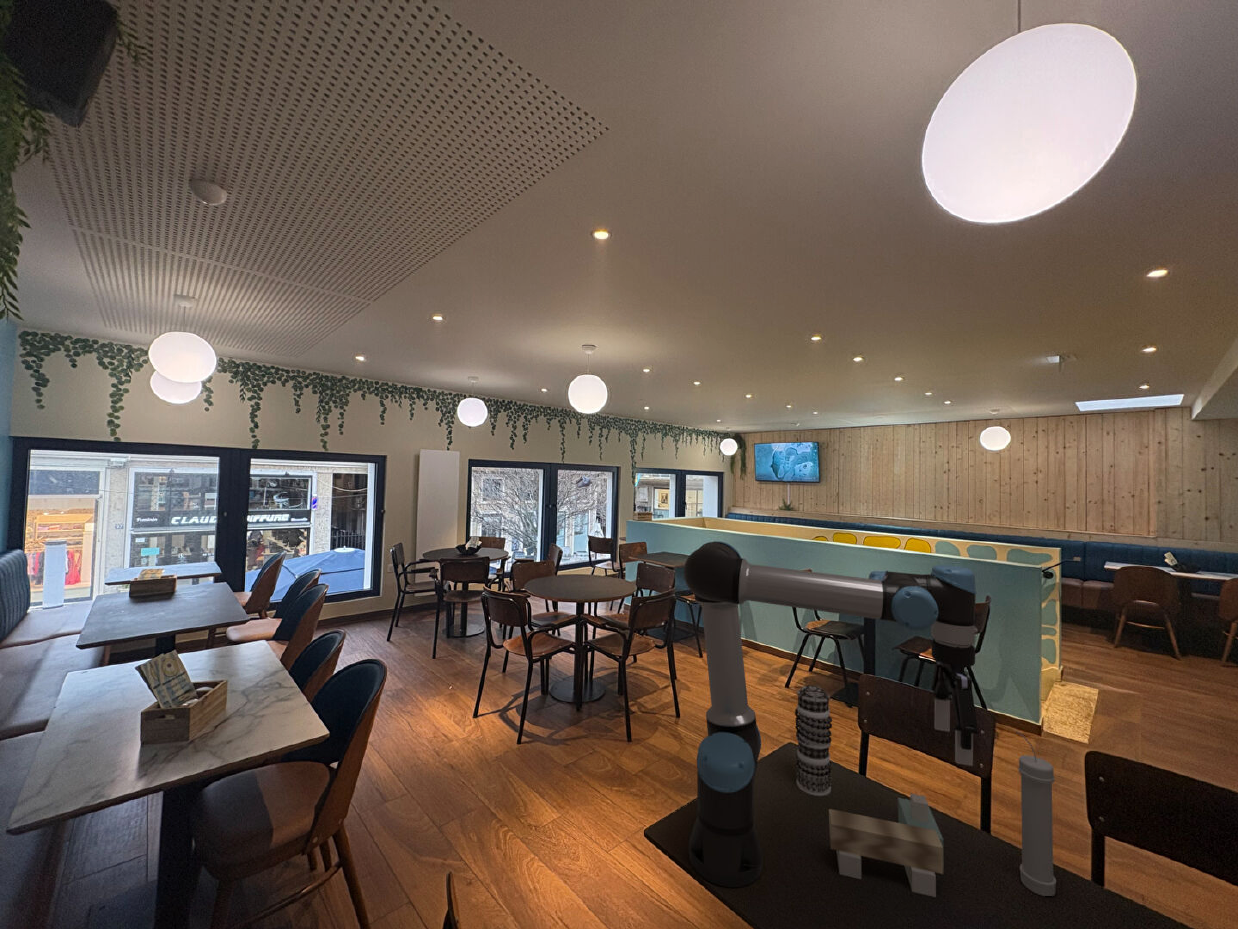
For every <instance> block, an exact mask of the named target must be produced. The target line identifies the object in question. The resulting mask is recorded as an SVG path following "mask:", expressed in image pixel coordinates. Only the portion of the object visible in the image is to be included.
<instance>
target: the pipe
mask: <svg viewBox="0 0 1238 929" xmlns="http://www.w3.org/2000/svg"><path fill="white" fill-rule="evenodd" d="M1015 732H1016V733H1017V734H1018V735H1020V736H1021V737H1022V738H1024V739H1025V741H1026V743H1028V745H1029V746H1030V747H1031V750H1032V752H1033V755H1034V756H1033V755H1020V756H1019V758H1018V772H1019V773H1020V785H1021V786H1020V787H1021V788H1020V795H1021V797H1020V798H1021V799H1020V800H1021V804H1020V805H1021V811H1020V812H1021V861H1022V862H1021V864H1020V865H1019V871H1020V872H1019V873H1020V880H1021V883H1022V885H1023V886H1025V887H1026V888H1027V889H1028V890H1030V891H1031V892H1032V893H1035V894H1037V895H1039V896H1042V897H1045V896H1052V897H1053V896H1055V894H1056V885H1057V879H1056V877H1055V875H1054V848H1053V847H1054V844H1053V843H1054V839H1053V836H1054V835H1053V783H1054V782H1055V776H1054V767H1053V765H1052V764H1051V763H1050V762H1048V761H1046V760H1045V759H1042V758H1040V757H1038V756H1037V755H1036V753H1035V750H1034V747H1033V746H1032V744H1031V742H1030V741H1029V740H1028V738H1027V737H1025V736H1024V735H1023V734H1022V733H1021V732H1019V731H1018V730H1015Z"/></svg>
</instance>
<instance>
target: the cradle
mask: <svg viewBox="0 0 1238 929" xmlns="http://www.w3.org/2000/svg"><path fill="white" fill-rule="evenodd" d="M835 851H836V857H837V858H836V859H837V865H838V872H839V875H841V876H846V877H850V878H853V879H858V880H862V856H861V855H856V854H852V853H847V852H843V851H839V850H835ZM903 867H904V869H905V872H906V875H907V878H908V883H909V886H910V889H911V891H912V893H916V894H920V895H924V896H929V897H932V898H936V897H937V876H936V874H935V873H936V872H931V871H927V870H922V869H918V868H914V867H909V866H905V865H903Z"/></svg>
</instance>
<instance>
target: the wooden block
mask: <svg viewBox="0 0 1238 929" xmlns="http://www.w3.org/2000/svg"><path fill="white" fill-rule="evenodd" d="M828 836H829V841H830V843H829V844H830V849H831V850H835V851H836V850H839V851H843V852H847V853H852V854H856V855H861V857H865V858H870V859H874V860H879V861H883V862H888V863H893V864H897V865H901V866H904V865H905V866H909V867H914V868H918V869H922V870H927V871H931V872H934V873H937V874H941V875H944V869H943V853H944V846H943V847H942V844H941V842H940V840H939V837H938V835H937V833H936V830H931V829H926V828H921V827H916V826H911V825H906V824H901V823H898V822H896V821H891V820H886V819H885V820H884V819H881V818H876V817H871V816H866V815H861V814H857V813H851V812H846V811H842V810H838V809H837V810H836V809H832V808H828ZM905 866H904V867H905Z"/></svg>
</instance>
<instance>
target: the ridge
mask: <svg viewBox="0 0 1238 929" xmlns="http://www.w3.org/2000/svg"><path fill="white" fill-rule="evenodd" d="M909 795H910V796H909V797H910V799H905V798H900V797H898V798H897V812H898V813H897V815H898V816H897V818H898V819H897V821H898V822H897V823H901V824H906V825H911V826H916V827H921V828H926V829H931V830H936V833H937V835H938V837H939V840H940V842H941V844H942V847H943V848H944V838H943V835H942V833H941V831H940V828H939V827H938V826H939V825H938V824H937V822H936V819H935V816H933V813H932V811H931V808H930V806H929V802H928V801H927V798H926V796H925V795H920V794H915V793H909ZM944 854H945V853H944V852H943V870H944V869H945V868H944V857H945V856H944Z"/></svg>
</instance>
